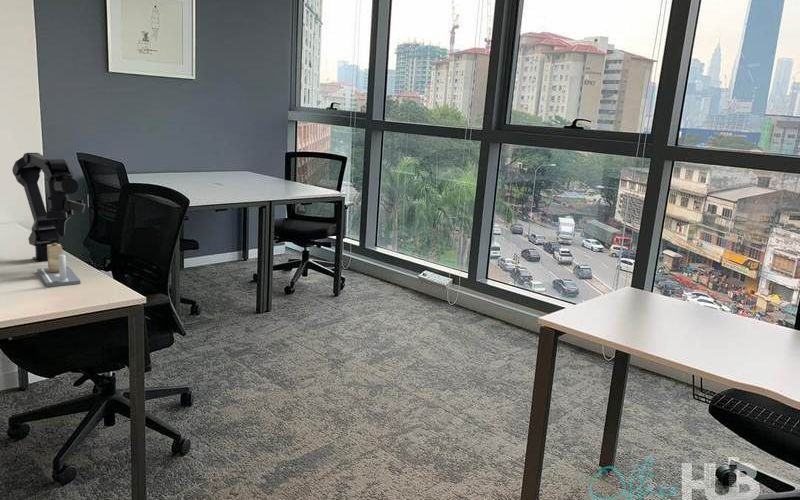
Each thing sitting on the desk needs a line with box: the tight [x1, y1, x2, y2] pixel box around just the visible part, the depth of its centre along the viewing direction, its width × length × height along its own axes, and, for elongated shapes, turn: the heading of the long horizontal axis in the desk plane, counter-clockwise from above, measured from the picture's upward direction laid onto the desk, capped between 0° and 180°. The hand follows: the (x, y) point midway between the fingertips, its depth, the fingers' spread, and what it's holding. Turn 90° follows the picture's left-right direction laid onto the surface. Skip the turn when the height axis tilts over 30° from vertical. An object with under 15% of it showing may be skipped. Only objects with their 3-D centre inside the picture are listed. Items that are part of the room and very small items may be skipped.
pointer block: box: [47, 243, 63, 272], centre depth 215 cm, size 4×4×10 cm
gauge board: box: [36, 253, 81, 288], centre depth 211 cm, size 20×10×10 cm, turn 38°
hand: (62, 236), depth 222 cm, fingers closed
